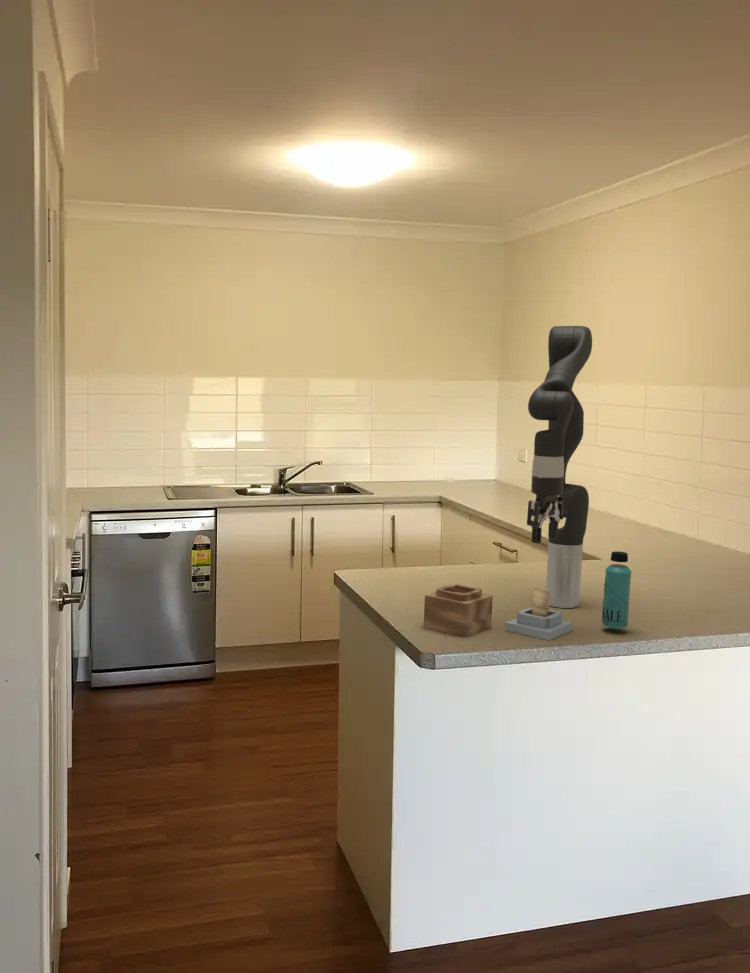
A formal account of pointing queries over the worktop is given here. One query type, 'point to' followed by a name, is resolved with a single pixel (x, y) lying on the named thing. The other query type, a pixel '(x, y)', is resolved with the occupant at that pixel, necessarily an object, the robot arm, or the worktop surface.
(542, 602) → the birch peg
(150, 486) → the worktop surface
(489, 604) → the walnut dock
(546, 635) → the slate dock
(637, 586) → the worktop surface
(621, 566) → the beverage bottle
